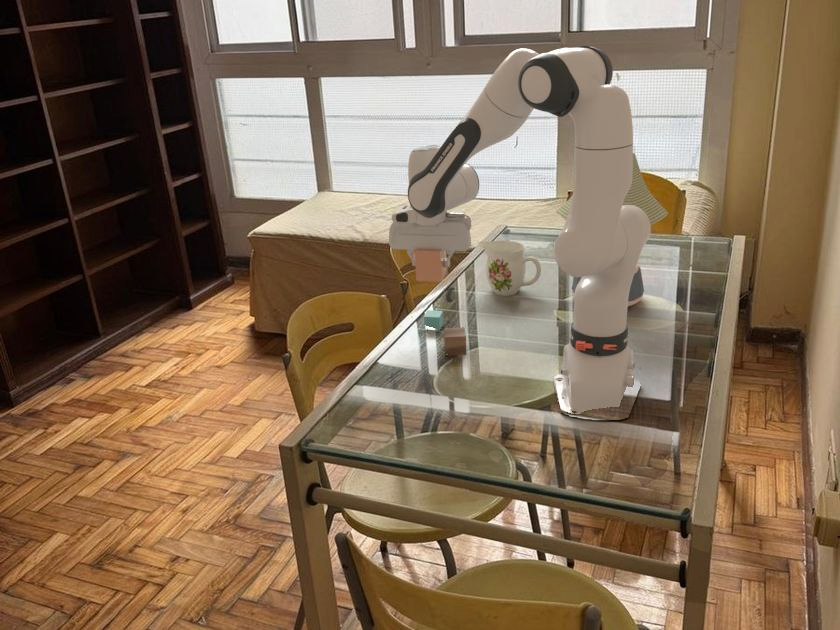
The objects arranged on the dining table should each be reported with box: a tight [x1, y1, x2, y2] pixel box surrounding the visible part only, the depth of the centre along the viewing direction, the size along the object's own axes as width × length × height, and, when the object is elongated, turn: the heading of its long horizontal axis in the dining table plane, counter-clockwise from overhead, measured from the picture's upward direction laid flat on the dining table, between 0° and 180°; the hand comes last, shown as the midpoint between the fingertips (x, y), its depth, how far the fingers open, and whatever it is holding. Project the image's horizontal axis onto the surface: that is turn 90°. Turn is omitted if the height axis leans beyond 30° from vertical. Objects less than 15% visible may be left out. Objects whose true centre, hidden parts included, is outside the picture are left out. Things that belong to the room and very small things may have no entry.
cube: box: [423, 309, 444, 331], centre depth 206 cm, size 4×4×4 cm
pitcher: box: [477, 240, 542, 297], centre depth 224 cm, size 11×18×14 cm, turn 67°
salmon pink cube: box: [414, 249, 448, 283], centre depth 200 cm, size 6×6×8 cm
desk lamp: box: [555, 152, 669, 307], centre depth 209 cm, size 26×28×42 cm
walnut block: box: [443, 326, 467, 356], centre depth 194 cm, size 5×5×5 cm
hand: (431, 265), depth 200 cm, fingers closed on salmon pink cube, 6 cm apart
